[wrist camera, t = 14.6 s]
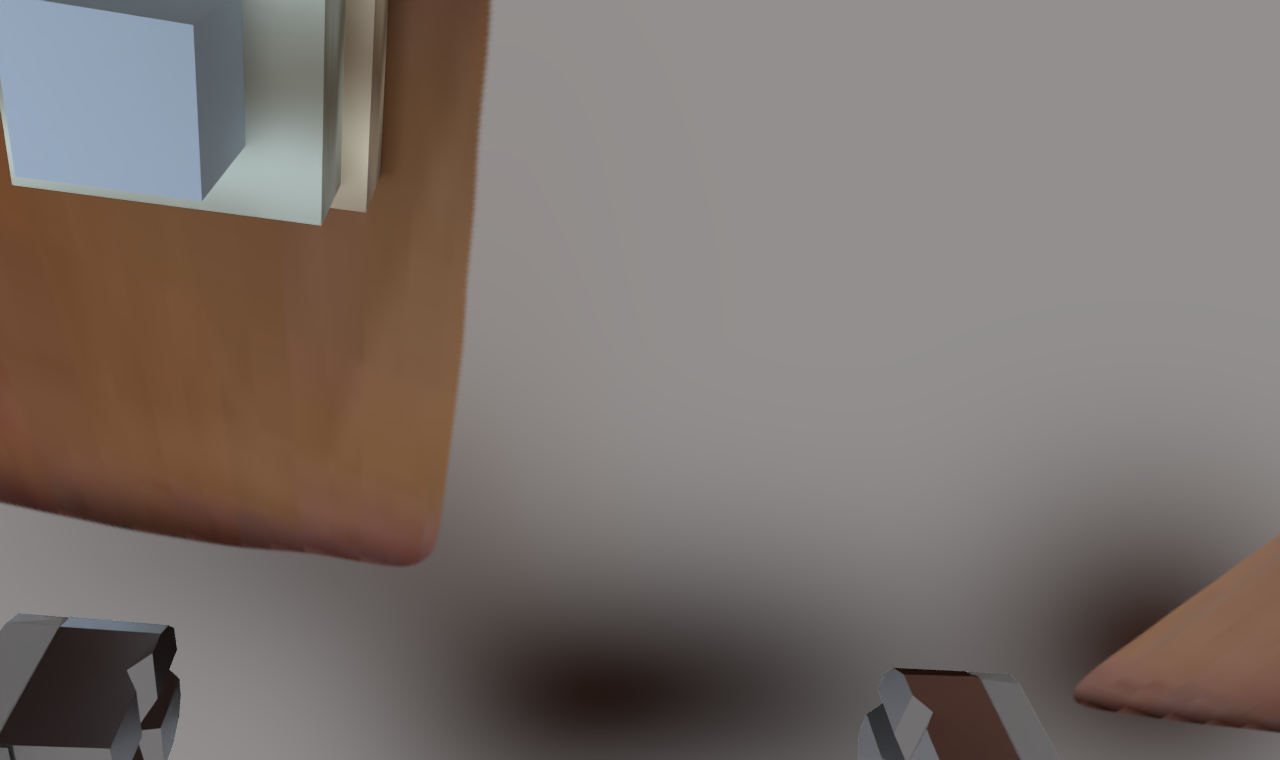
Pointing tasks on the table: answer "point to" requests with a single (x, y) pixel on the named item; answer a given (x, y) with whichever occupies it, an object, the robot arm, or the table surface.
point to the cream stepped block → (295, 114)
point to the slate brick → (124, 92)
